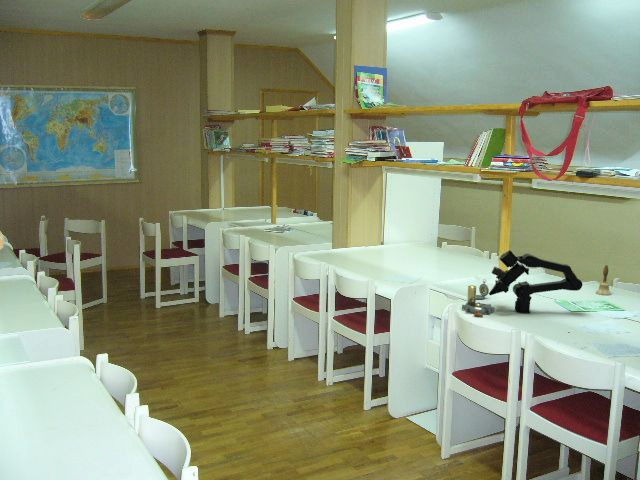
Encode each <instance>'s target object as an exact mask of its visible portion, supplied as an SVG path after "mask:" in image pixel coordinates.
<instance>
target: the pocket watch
mask: <svg viewBox="0 0 640 480" xmlns="http://www.w3.org/2000/svg"><path fill="white" fill-rule="evenodd" d="M482 282H483V283H481V284H480V285H479V288H478V290H479V294H476V300H484V299H485V297H487V296H488V295H489V292H490V289H489V287H488V285H487V284H486V279H485V278H484V279H483V281H482ZM483 298H484V299H483Z"/></svg>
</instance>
